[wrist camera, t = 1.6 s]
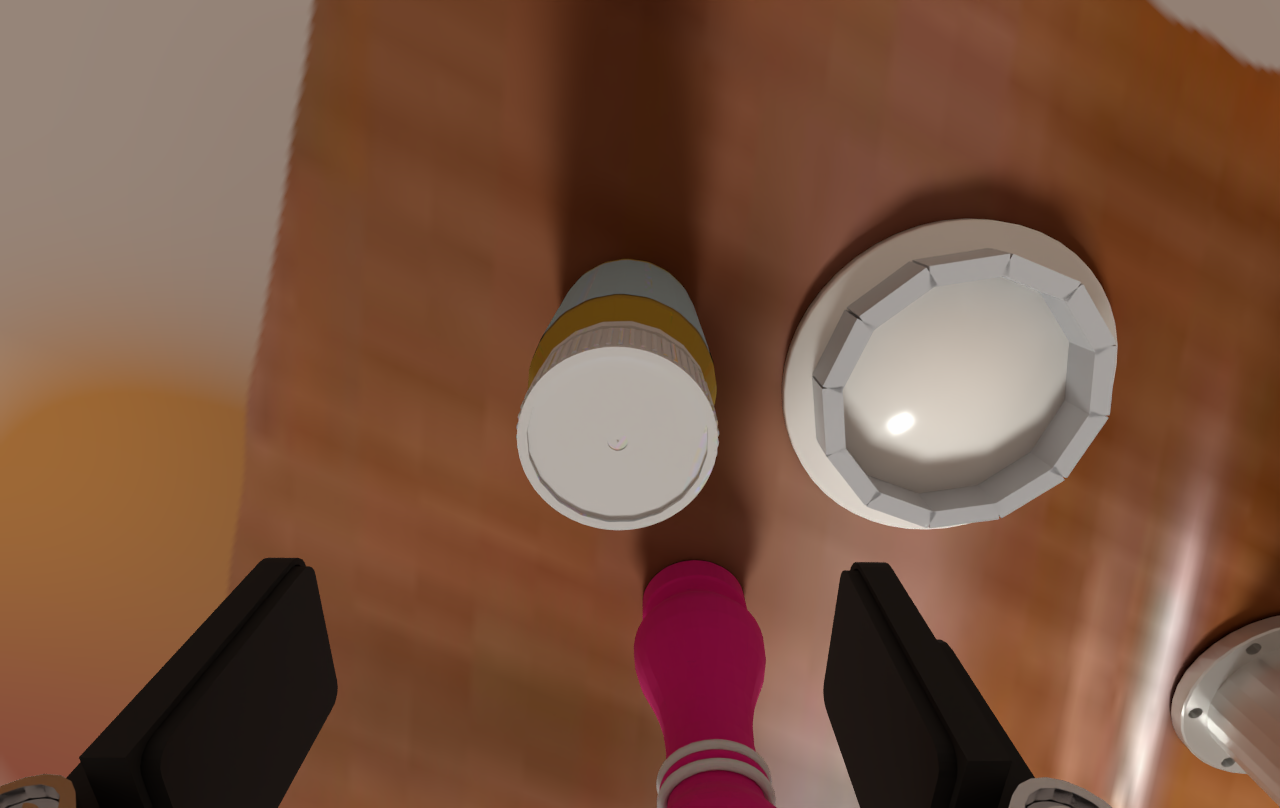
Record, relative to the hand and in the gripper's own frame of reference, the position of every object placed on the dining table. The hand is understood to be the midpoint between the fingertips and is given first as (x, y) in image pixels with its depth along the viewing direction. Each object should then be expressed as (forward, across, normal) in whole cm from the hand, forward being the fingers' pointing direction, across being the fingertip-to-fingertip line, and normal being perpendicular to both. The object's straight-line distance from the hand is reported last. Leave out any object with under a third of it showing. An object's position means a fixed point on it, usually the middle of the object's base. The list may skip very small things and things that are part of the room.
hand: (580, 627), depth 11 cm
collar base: (+23, -17, +3) cm, 29 cm away
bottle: (+24, -1, 0) cm, 24 cm away
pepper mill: (+23, -5, +18) cm, 30 cm away
